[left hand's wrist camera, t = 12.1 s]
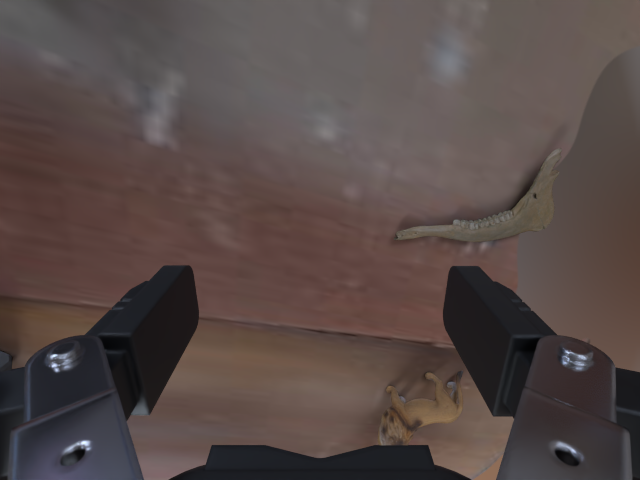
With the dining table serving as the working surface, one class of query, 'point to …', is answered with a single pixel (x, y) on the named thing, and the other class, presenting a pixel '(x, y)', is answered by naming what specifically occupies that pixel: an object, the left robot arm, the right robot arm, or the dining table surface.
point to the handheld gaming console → (5, 362)
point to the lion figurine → (419, 412)
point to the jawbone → (502, 214)
